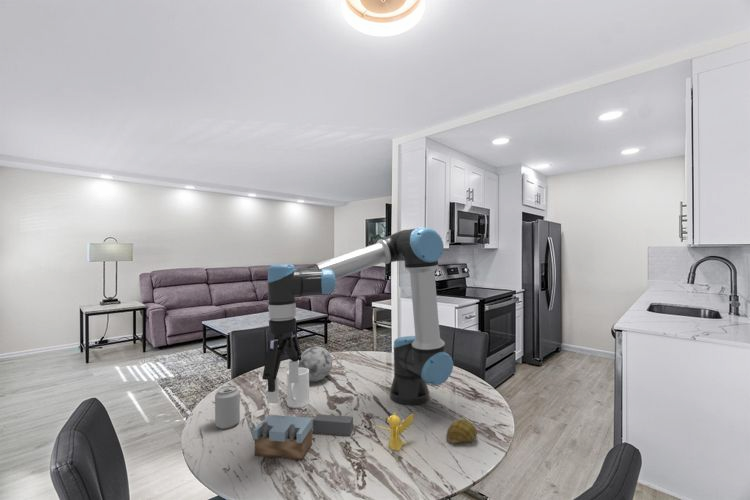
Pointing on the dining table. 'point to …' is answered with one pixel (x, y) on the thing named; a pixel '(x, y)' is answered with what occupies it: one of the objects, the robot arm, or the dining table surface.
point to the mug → (298, 390)
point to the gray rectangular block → (333, 424)
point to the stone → (316, 362)
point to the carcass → (282, 445)
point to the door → (284, 427)
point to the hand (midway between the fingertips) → (284, 392)
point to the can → (227, 407)
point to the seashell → (461, 432)
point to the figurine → (397, 430)
